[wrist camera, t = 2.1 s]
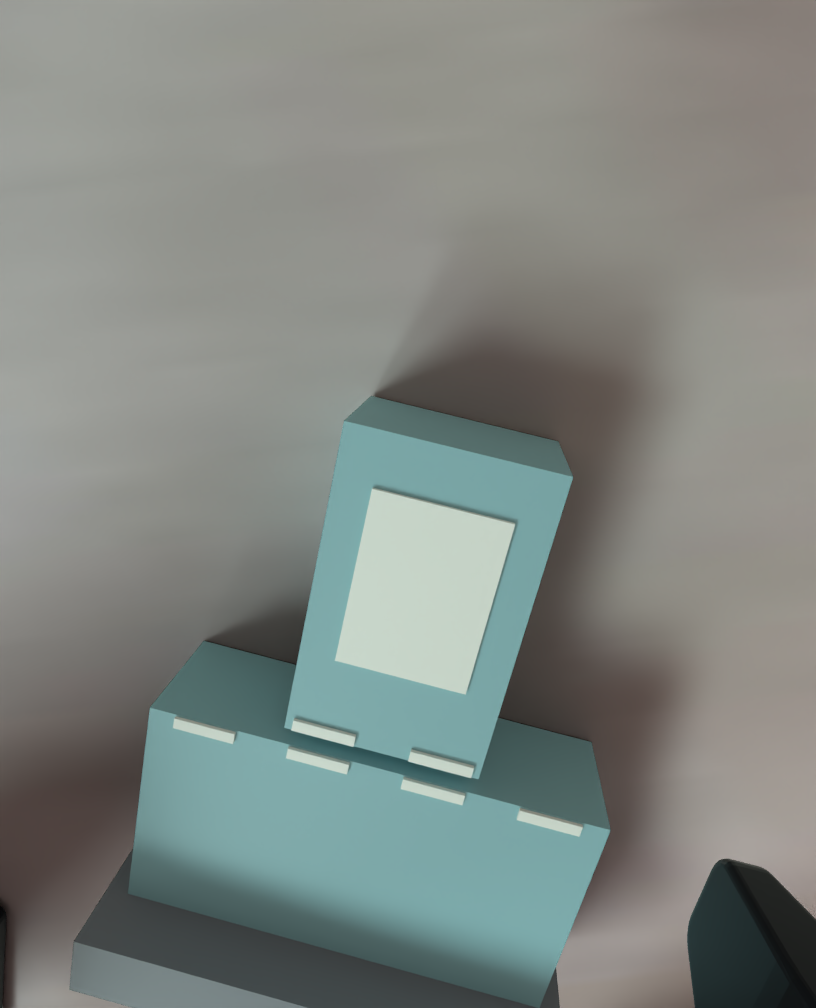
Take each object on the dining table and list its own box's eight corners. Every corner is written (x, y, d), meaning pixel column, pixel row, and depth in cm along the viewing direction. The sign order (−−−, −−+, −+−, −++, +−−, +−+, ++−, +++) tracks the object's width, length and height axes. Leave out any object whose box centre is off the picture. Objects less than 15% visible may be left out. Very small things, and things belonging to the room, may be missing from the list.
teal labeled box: (480, 699, 20) (478, 781, 17) (317, 656, 21) (283, 729, 17) (558, 441, 18) (573, 478, 14) (370, 395, 18) (343, 421, 15)
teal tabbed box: (535, 946, 23) (547, 1125, 18) (157, 842, 24) (69, 989, 19) (611, 747, 20) (649, 894, 16) (185, 636, 21) (91, 742, 16)
